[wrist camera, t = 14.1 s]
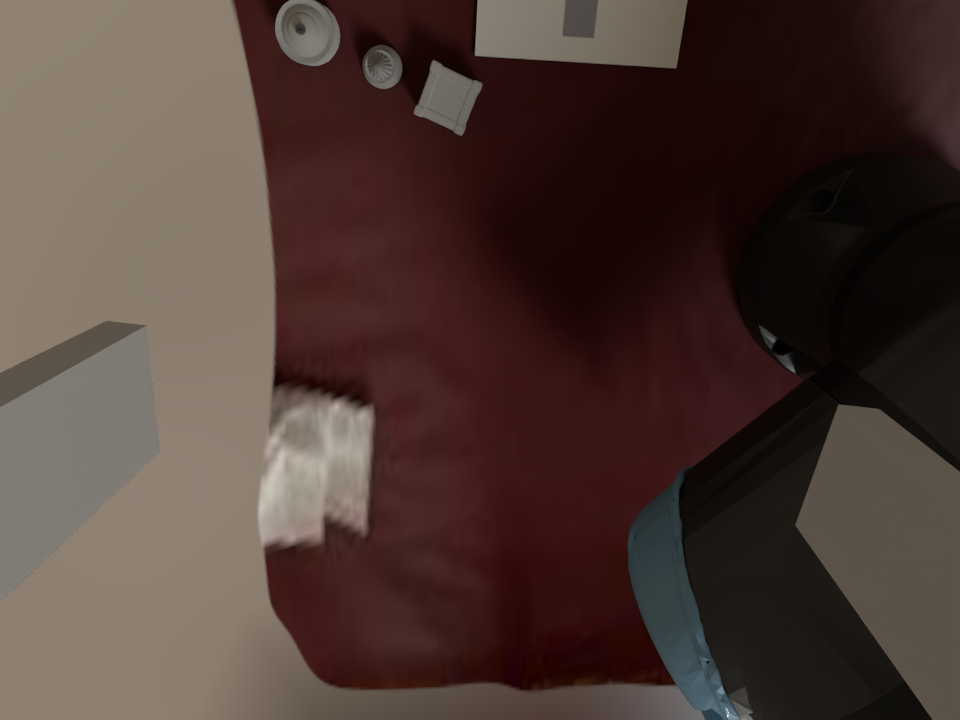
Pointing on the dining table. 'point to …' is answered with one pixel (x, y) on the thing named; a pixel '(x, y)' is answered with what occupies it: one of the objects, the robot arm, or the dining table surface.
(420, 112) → the toy set
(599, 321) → the dining table surface
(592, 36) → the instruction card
